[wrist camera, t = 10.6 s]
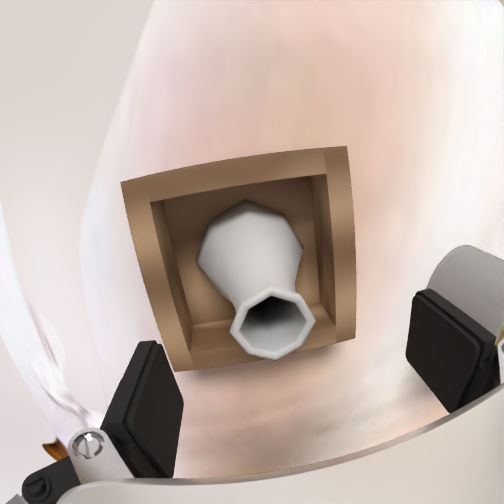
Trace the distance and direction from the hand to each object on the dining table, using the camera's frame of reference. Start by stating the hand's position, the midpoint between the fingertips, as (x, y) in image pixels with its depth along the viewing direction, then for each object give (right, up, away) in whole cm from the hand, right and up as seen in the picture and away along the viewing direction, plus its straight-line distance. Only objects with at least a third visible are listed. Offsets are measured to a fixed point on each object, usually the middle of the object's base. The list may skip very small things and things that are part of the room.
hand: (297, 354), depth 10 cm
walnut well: (-2, +4, +12) cm, 12 cm away
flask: (-2, +4, +11) cm, 12 cm away
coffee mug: (+22, 0, +15) cm, 27 cm away
